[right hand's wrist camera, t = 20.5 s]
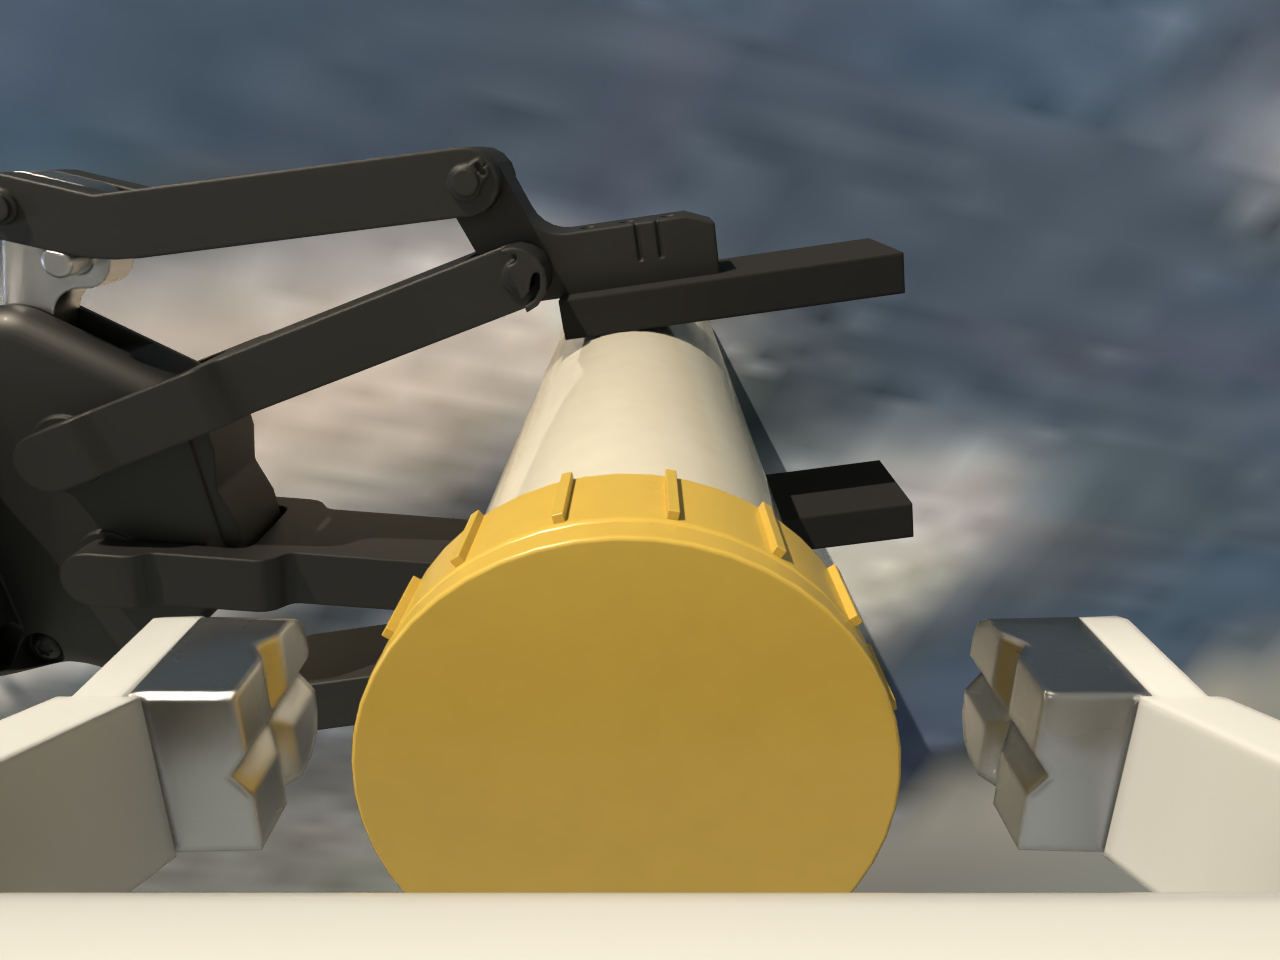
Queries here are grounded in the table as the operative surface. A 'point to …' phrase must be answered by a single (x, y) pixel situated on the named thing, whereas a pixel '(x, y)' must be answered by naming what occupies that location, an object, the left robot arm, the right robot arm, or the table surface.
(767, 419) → the table surface
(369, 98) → the table surface
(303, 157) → the table surface
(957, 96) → the table surface
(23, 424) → the left robot arm
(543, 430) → the jar
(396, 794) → the lid
